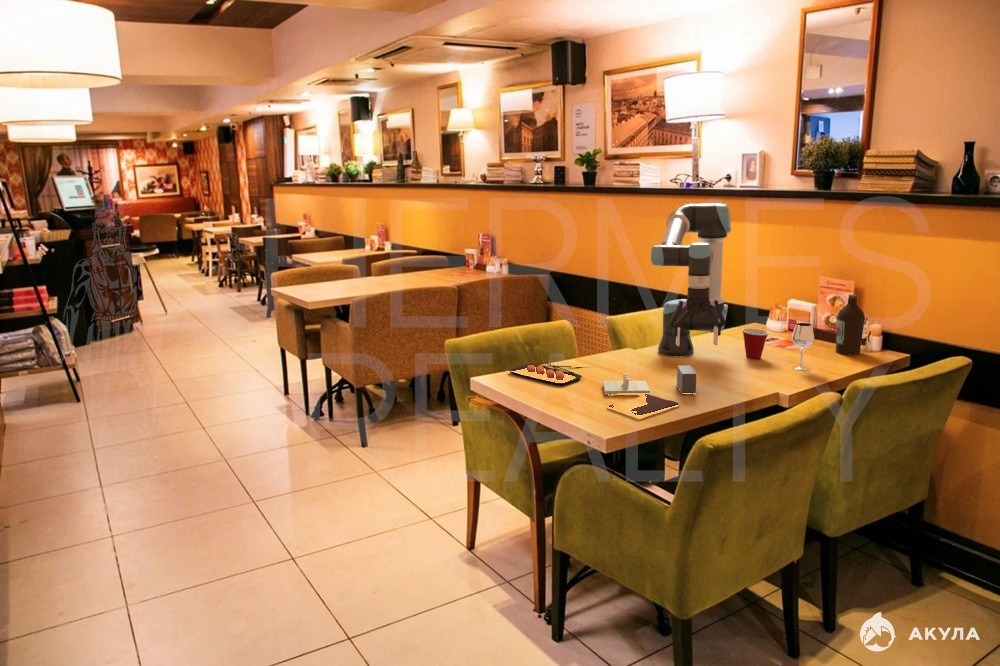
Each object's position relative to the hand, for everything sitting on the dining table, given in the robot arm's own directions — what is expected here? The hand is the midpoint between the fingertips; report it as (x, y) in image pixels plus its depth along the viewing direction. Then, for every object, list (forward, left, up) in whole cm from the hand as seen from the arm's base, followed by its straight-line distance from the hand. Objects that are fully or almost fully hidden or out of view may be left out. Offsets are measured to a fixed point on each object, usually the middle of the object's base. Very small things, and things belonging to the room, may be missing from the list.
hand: (696, 344), depth 259 cm
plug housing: (0, -3, -17) cm, 18 cm away
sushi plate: (-25, -50, -18) cm, 59 cm away
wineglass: (-27, +47, -18) cm, 57 cm away
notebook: (+18, -21, -18) cm, 33 cm away
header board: (0, -25, -17) cm, 31 cm away
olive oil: (-50, +74, -18) cm, 91 cm away
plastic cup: (-43, +33, -18) cm, 57 cm away
